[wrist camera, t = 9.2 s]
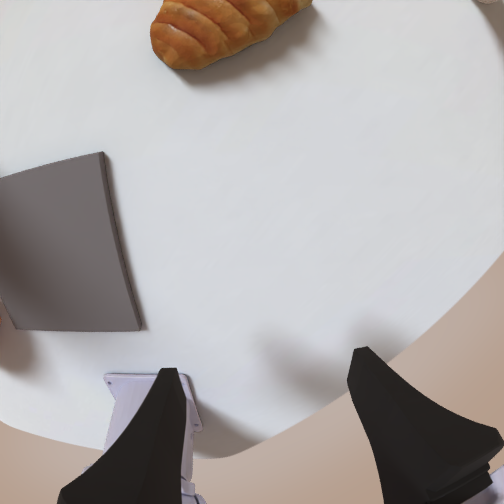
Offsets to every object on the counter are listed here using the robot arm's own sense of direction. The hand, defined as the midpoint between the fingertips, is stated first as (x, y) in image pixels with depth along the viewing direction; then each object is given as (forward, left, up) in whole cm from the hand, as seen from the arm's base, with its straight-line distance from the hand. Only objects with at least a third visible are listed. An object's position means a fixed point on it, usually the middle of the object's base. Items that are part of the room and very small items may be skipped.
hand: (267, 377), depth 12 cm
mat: (+2, +15, -10) cm, 18 cm away
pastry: (+17, 0, -10) cm, 20 cm away
